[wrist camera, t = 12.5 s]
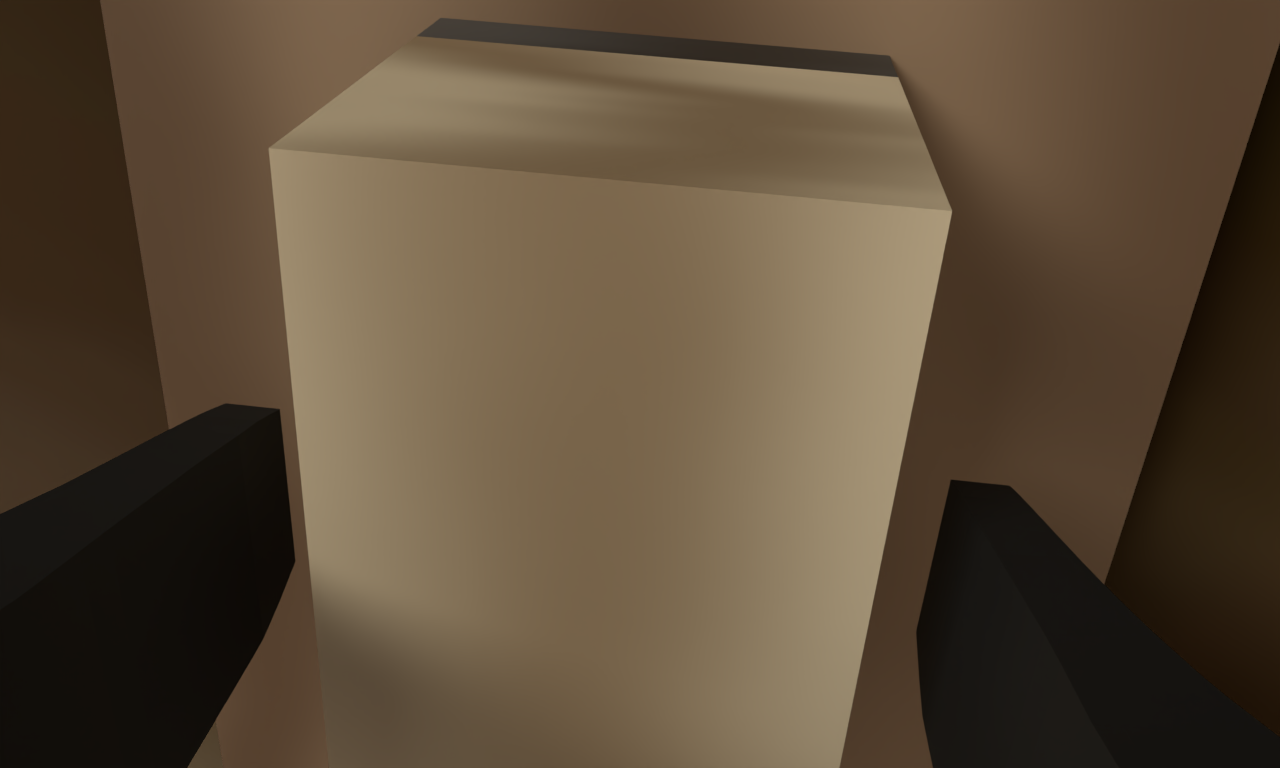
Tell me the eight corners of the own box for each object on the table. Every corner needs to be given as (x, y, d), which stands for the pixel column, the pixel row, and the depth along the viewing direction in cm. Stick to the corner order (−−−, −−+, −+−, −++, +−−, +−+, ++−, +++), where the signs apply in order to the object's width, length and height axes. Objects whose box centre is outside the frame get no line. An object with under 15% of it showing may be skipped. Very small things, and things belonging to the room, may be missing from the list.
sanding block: (454, 635, 17) (345, 932, 13) (440, 17, 13) (269, 148, 8) (787, 674, 17) (794, 993, 12) (889, 55, 13) (953, 211, 8)
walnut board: (310, 1090, 26) (286, 1161, 25) (141, -167, 14) (73, -159, 12) (882, 1173, 25) (888, 1251, 24) (1259, -81, 13) (1314, -64, 12)
